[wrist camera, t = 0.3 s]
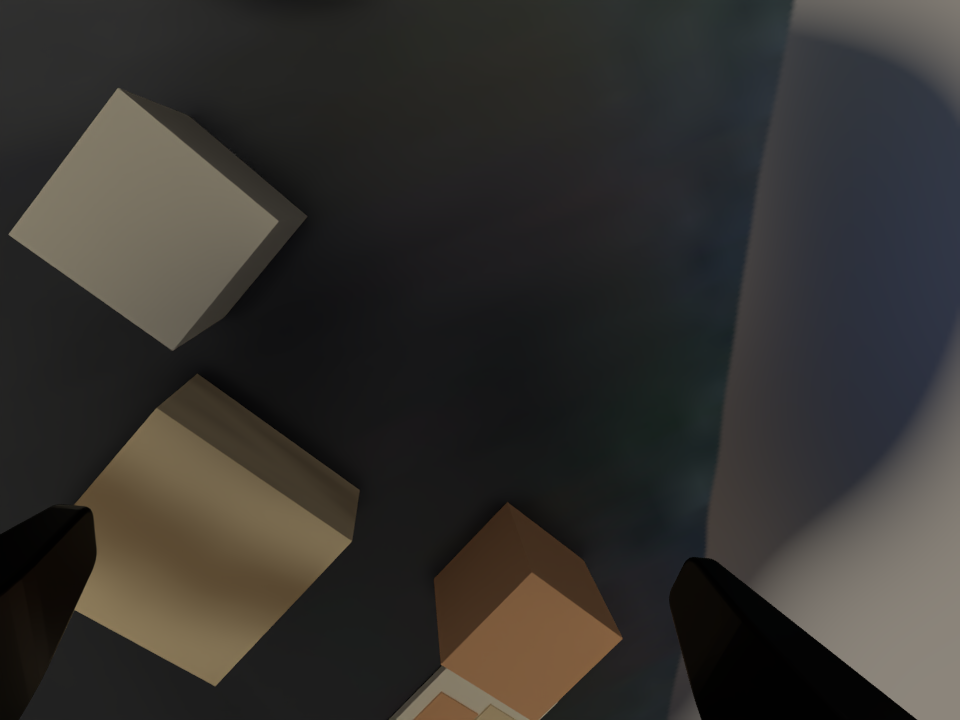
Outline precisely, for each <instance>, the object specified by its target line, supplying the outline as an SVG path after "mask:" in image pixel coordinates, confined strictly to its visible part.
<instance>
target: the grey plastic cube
mask: <svg viewBox="0 0 960 720" xmlns="http://www.w3.org/2000/svg"><path fill="white" fill-rule="evenodd" d="M307 217H308V216H306V215H305V214H304V213H303V212H302V211H301V210H299V209H298V208H297V207H296V206H295V205H293V204H292V203H291V202H290V201H289V200H288V199H286V198H285V197H284V196H283V195H282V194H280V193H279V192H278V191H277V190H276V189H275V188H273V187H272V186H271V185H270V184H269V183H268V182H266V181H265V180H264V179H263V178H262V177H260V176H259V175H258V174H257V173H256V172H255V171H253V170H252V169H251V168H250V167H249V166H247V165H246V164H245V163H244V162H243V161H242V160H240V159H239V158H238V157H237V156H236V155H234V154H233V153H232V152H231V151H230V150H229V149H227V148H226V147H225V146H224V145H223V144H222V143H220V142H219V141H218V140H217V139H216V138H214V137H213V136H212V135H211V134H210V133H209V132H207V131H206V130H205V129H204V128H203V127H201V126H200V125H199V124H198V123H197V122H196V121H194V120H193V119H192V118H191V117H190V116H188V115H186V114H184V113H181V112H178V111H176V110H173V109H171V108H168V107H166V106H163V105H161V104H158V103H156V102H153V101H151V100H148V99H146V98H143V97H140V96H138V95H135V94H133V93H130V92H128V91H125V90H123V89H120V88H118V89H117V90H116V91H115V93H114V94H113V95H112V97H111V98H110V99H109V101H108V102H107V103H106V105H105V106H104V107H103V109H102V110H101V111H100V113H99V114H98V115H97V117H96V118H95V119H94V121H93V122H92V123H91V125H90V126H89V127H88V129H87V130H86V131H85V133H84V134H83V136H82V137H81V138H80V140H79V141H78V142H77V144H76V145H75V146H74V148H73V149H72V150H71V152H70V153H69V154H68V156H67V157H66V158H65V160H64V161H63V162H62V164H61V165H60V166H59V168H58V169H57V170H56V172H55V173H54V174H53V176H52V177H51V178H50V180H49V181H48V182H47V184H46V185H45V186H44V188H43V189H42V190H41V192H40V193H39V194H38V196H37V197H36V198H35V200H34V201H33V202H32V204H31V205H30V206H29V208H28V209H27V210H26V212H25V213H24V215H23V216H22V217H21V219H20V220H19V221H18V223H17V224H16V225H15V227H14V228H13V229H12V231H11V232H10V233H9V235H10V236H11V237H13V238H14V239H15V240H17V241H18V242H20V243H21V244H22V245H24V246H25V247H27V248H28V249H29V250H31V251H32V252H34V253H35V254H37V255H38V256H39V257H41V258H42V259H44V260H45V261H46V262H48V263H49V264H51V265H52V266H54V267H55V268H56V269H58V270H59V271H61V272H62V273H63V274H65V275H66V276H68V277H69V278H70V279H72V280H73V281H75V282H76V283H78V284H79V285H80V286H82V287H83V288H85V289H86V290H87V291H89V292H90V293H92V294H93V295H94V296H96V297H97V298H99V299H100V300H102V301H103V302H104V303H106V304H107V305H109V306H110V307H111V308H113V309H114V310H116V311H117V312H118V313H120V314H121V315H123V316H124V317H126V318H127V319H128V320H130V321H131V322H133V323H134V324H135V325H137V326H138V327H140V328H141V329H143V330H144V331H145V332H147V333H148V334H150V335H151V336H152V337H154V338H155V339H157V340H158V341H159V342H161V343H162V344H164V345H165V346H167V347H168V348H169V349H171V350H172V351H173V350H175V349H176V348H178V347H179V346H181V345H182V344H184V343H186V342H187V341H189V340H190V339H192V338H193V337H195V336H196V335H198V334H199V333H201V332H202V331H204V330H206V329H207V328H209V327H210V326H212V325H213V324H215V323H216V322H218V321H219V320H221V319H222V318H224V317H225V316H226V315H227V313H228V312H229V311H230V310H231V309H232V307H233V306H234V305H235V304H236V303H237V301H238V300H239V299H240V298H241V296H242V295H243V294H244V293H245V292H246V290H247V289H248V288H249V287H250V286H251V284H252V283H253V282H254V281H255V280H256V278H257V277H258V276H259V275H260V273H261V272H262V271H263V270H264V269H265V267H266V266H267V265H268V264H269V263H270V261H271V260H272V259H273V258H274V257H275V255H276V254H277V253H278V252H279V251H280V249H281V248H282V247H283V246H284V244H285V243H286V242H287V241H288V240H289V238H290V237H291V236H292V235H293V234H294V232H295V231H296V230H297V229H298V228H299V226H300V225H301V224H302V223H303V222H304V220H305V219H306V218H307Z"/></svg>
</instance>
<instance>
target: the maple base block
mask: <svg viewBox="0 0 960 720" xmlns="http://www.w3.org/2000/svg"><path fill="white" fill-rule="evenodd" d="M359 492H360V490H359V489H357V488H356V487H355V486H353V485H352V484H350V483H349V482H348V481H346V480H345V479H343V478H342V477H341V476H339V475H338V474H337V473H335V472H334V471H332V470H331V469H330V468H328V467H327V466H325V465H324V464H323V463H321V462H320V461H318V460H317V459H316V458H314V457H313V456H311V455H310V454H309V453H307V452H306V451H304V450H303V449H302V448H300V447H299V446H298V445H296V444H295V443H293V442H292V441H291V440H289V439H288V438H286V437H285V436H284V435H282V434H281V433H279V432H278V431H277V430H275V429H274V428H272V427H271V426H270V425H268V424H267V423H265V422H264V421H263V420H261V419H260V418H259V417H257V416H256V415H254V414H253V413H252V412H250V411H249V410H247V409H246V408H245V407H243V406H242V405H240V404H239V403H238V402H236V401H235V400H233V399H232V398H231V397H229V396H228V395H227V394H225V393H224V392H222V391H221V390H220V389H218V388H217V387H215V386H214V385H213V384H211V383H210V382H208V381H207V380H206V379H204V378H203V377H201V376H200V375H199V374H196V375H195V376H194V377H193V378H192V379H190V380H189V381H188V382H187V383H186V384H184V385H183V386H182V387H181V388H180V389H179V390H177V391H176V392H175V393H174V394H173V395H171V396H170V397H169V398H168V399H167V400H165V401H164V402H163V403H162V404H161V405H159V406H158V407H157V408H156V409H155V410H154V412H153V413H152V414H151V415H150V416H149V417H148V419H147V420H146V421H145V422H144V423H143V425H142V426H141V427H140V428H139V429H138V430H137V432H136V433H135V434H134V435H133V436H132V437H131V439H130V440H129V441H128V442H127V443H126V445H125V446H124V447H123V448H122V449H121V450H120V452H119V453H118V454H117V455H116V456H115V457H114V459H113V460H112V461H111V462H110V463H109V465H108V466H107V467H106V468H105V469H104V470H103V472H102V473H101V474H100V475H99V476H98V477H97V479H96V480H95V481H94V482H93V483H92V485H91V486H90V487H89V488H88V489H87V490H86V492H85V493H84V494H83V495H82V496H81V497H80V499H79V500H78V501H77V502H76V503H75V505H76V506H86V507H88V508H90V509H91V510H92V512H93V516H94V525H95V535H96V545H97V557H96V562H95V565H94V568H93V570H92V573H91V575H90V577H89V579H88V581H87V583H86V586H85V588H84V590H83V592H82V594H81V596H80V599H79V601H78V603H77V605H76V607H75V610H76V611H78V612H80V613H81V614H83V615H85V616H87V617H89V618H91V619H92V620H94V621H96V622H98V623H100V624H102V625H103V626H105V627H107V628H109V629H111V630H113V631H114V632H116V633H118V634H120V635H122V636H124V637H126V638H127V639H129V640H131V641H133V642H135V643H137V644H138V645H140V646H142V647H144V648H146V649H148V650H149V651H151V652H153V653H155V654H157V655H159V656H160V657H162V658H164V659H166V660H168V661H170V662H172V663H173V664H175V665H177V666H179V667H181V668H183V669H184V670H186V671H188V672H190V673H192V674H194V675H195V676H197V677H199V678H201V679H203V680H205V681H207V682H208V683H210V684H212V685H214V686H216V685H217V684H218V683H219V682H220V681H221V680H222V678H223V677H224V676H225V675H226V674H227V673H228V672H229V671H230V670H231V669H232V668H233V667H234V666H235V665H236V664H237V663H238V661H239V660H240V659H241V658H242V657H243V656H244V655H245V654H246V653H247V652H248V651H249V650H250V649H251V648H252V647H253V646H254V645H255V643H256V642H257V641H258V640H259V639H260V638H261V637H262V636H263V635H264V634H265V633H266V632H267V631H268V630H269V629H270V628H271V627H272V625H273V624H274V623H275V622H276V621H277V620H278V619H279V618H280V617H281V616H282V615H283V614H284V613H285V612H286V611H287V610H288V609H289V607H290V606H291V605H292V604H293V603H294V602H295V601H296V600H297V599H298V598H299V597H300V596H301V595H302V594H303V593H304V592H305V591H306V589H307V588H308V587H309V586H310V585H311V584H312V583H313V582H314V581H315V580H316V579H317V578H318V577H319V576H320V575H321V574H322V573H323V571H324V570H325V569H326V568H327V567H328V566H329V565H330V564H331V563H332V562H333V561H334V560H335V559H336V558H337V557H338V556H339V554H340V553H341V552H342V551H343V550H344V549H345V548H346V547H347V546H348V545H349V544H350V543H351V542H352V538H353V531H354V525H355V518H356V512H357V505H358V499H359Z"/></svg>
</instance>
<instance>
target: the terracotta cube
mask: <svg viewBox="0 0 960 720" xmlns="http://www.w3.org/2000/svg"><path fill="white" fill-rule="evenodd" d="M434 588H435V600H436V612H437V624H438V636H439V648H440V660H441V665H442V666H444V667H446V668H447V669H449V670H450V671H452V672H454V673H455V674H457V675H459V676H460V677H462V678H463V679H465V680H467V681H468V682H470V683H471V684H473V685H475V686H476V687H478V688H479V689H481V690H483V691H484V692H486V693H487V694H489V695H491V696H492V697H494V698H496V699H497V700H499V701H500V702H502V703H504V704H505V705H507V706H508V707H510V708H512V709H513V710H515V711H516V712H518V713H520V714H521V715H523V716H524V717H526V718H528V719H529V720H539V719H540V718H541V717H542V716H543V715H544V714H545V713H546V712H547V711H548V710H549V709H550V708H551V707H552V706H553V705H554V704H555V703H557V702H558V701H559V700H560V699H561V698H562V697H563V696H564V695H565V694H566V693H567V692H568V691H569V690H570V689H571V688H572V687H573V686H574V685H575V684H576V683H577V682H578V681H579V680H580V679H581V678H582V677H583V676H584V675H585V674H587V673H588V672H589V671H590V670H591V669H592V668H593V667H594V666H595V665H596V664H597V663H598V662H599V661H600V660H601V659H602V658H603V657H604V656H605V655H606V654H607V653H608V652H609V651H610V650H611V649H612V648H613V647H614V646H615V645H617V644H618V643H619V642H620V641H621V640H622V639H623V638H622V636H621V634H620V632H619V630H618V628H617V626H616V624H615V622H614V620H613V618H612V616H611V614H610V612H609V610H608V608H607V606H606V604H605V602H604V600H603V598H602V596H601V594H600V592H599V590H598V588H597V586H596V584H595V582H594V580H593V578H592V576H591V574H590V572H589V570H588V568H587V566H586V564H585V562H584V560H583V559H581V558H580V557H579V556H577V555H576V554H575V553H573V552H572V551H571V550H569V549H568V548H567V547H566V546H564V545H563V544H562V543H560V542H559V541H558V540H556V539H555V538H554V537H552V536H551V535H550V534H549V533H547V532H546V531H545V530H543V529H542V528H541V527H539V526H538V525H537V524H535V523H534V522H533V521H532V520H530V519H529V518H528V517H526V516H525V515H524V514H522V513H521V512H520V511H519V510H517V509H516V508H515V507H513V506H512V505H511V504H509V503H508V502H507V503H506V504H505V505H504V506H503V507H502V508H501V509H500V510H499V511H498V512H497V513H496V514H495V516H494V517H493V518H492V519H491V520H490V521H489V522H488V523H487V524H486V525H485V526H484V527H483V528H482V529H481V530H480V531H479V532H478V533H477V534H476V535H475V536H474V537H473V539H472V540H471V541H470V542H469V543H468V544H467V545H466V546H465V547H464V548H463V549H462V550H461V551H460V552H459V553H458V554H457V555H456V556H455V557H454V558H453V559H452V560H451V561H450V563H449V564H448V565H447V566H446V567H445V568H444V569H443V570H442V571H441V572H440V573H439V574H438V575H437V576H436V577H435V578H434Z"/></svg>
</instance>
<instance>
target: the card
mask: <svg viewBox="0 0 960 720" xmlns="http://www.w3.org/2000/svg"><path fill="white" fill-rule="evenodd" d="M557 703H558V702H557ZM557 703H555V704H554V705H556V704H557ZM554 705H553V706H554ZM553 706H552V707H553ZM552 707H551V708H552ZM551 708H550V709H551ZM550 709H549V710H550ZM549 710H548V711H549ZM548 711H547V712H548ZM547 712H546V713H547ZM546 713H545V714H546ZM545 714H544V715H545ZM544 715H543V716H544ZM543 716H542V717H543ZM542 717H541V718H542ZM541 718H540V719H541ZM540 719H539V720H540ZM389 720H529V719H528V718H526V717H524V716H523V715H521V714H520V713H518V712H516V711H515V710H513V709H512V708H510V707H508V706H507V705H505V704H504V703H502V702H500V701H499V700H497V699H496V698H494V697H492V696H491V695H489V694H487V693H486V692H484V691H483V690H481V689H479V688H478V687H476V686H475V685H473V684H471V683H470V682H468V681H467V680H465V679H463V678H462V677H460V676H459V675H457V674H455V673H454V672H452V671H450V670H449V669H447V668H446V667H444V666H441V667H440V668H439V669H438V670H437V671H436V672H435V673H434V674H433V675H432V676H431V677H430V678H429V679H428V680H427V681H426V682H425V683H424V684H423V685H422V686H421V687H420V688H419V689H418V690H417V691H416V692H415V693H414V694H413V695H412V696H411V697H410V699H409V700H408V701H407V702H406V703H405V704H404V705H403V706H402V707H401V708H400V709H399V710H398V711H397V712H396V713H395V714H394V715H393V716H392V717H391V718H390V719H389Z"/></svg>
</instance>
